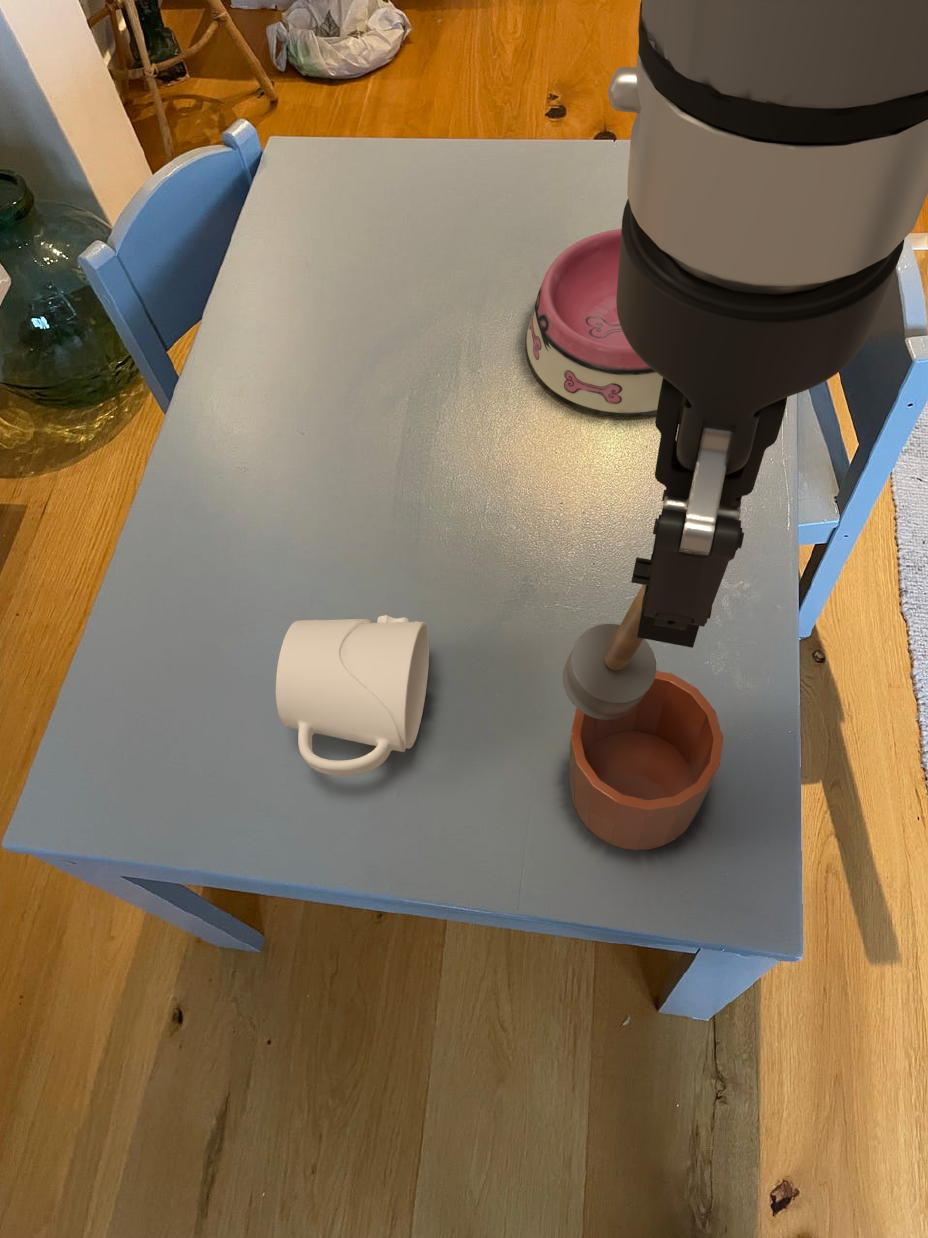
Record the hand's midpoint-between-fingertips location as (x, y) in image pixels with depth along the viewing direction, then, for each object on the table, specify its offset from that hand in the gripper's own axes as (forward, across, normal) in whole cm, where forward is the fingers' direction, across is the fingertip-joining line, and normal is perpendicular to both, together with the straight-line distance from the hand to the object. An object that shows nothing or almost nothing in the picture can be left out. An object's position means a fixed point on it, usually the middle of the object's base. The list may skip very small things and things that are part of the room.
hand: (669, 616), depth 46 cm
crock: (+24, +1, 0) cm, 24 cm away
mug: (+25, 0, -21) cm, 32 cm away
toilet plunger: (+9, 0, -3) cm, 9 cm away
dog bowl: (+24, -41, -8) cm, 49 cm away
